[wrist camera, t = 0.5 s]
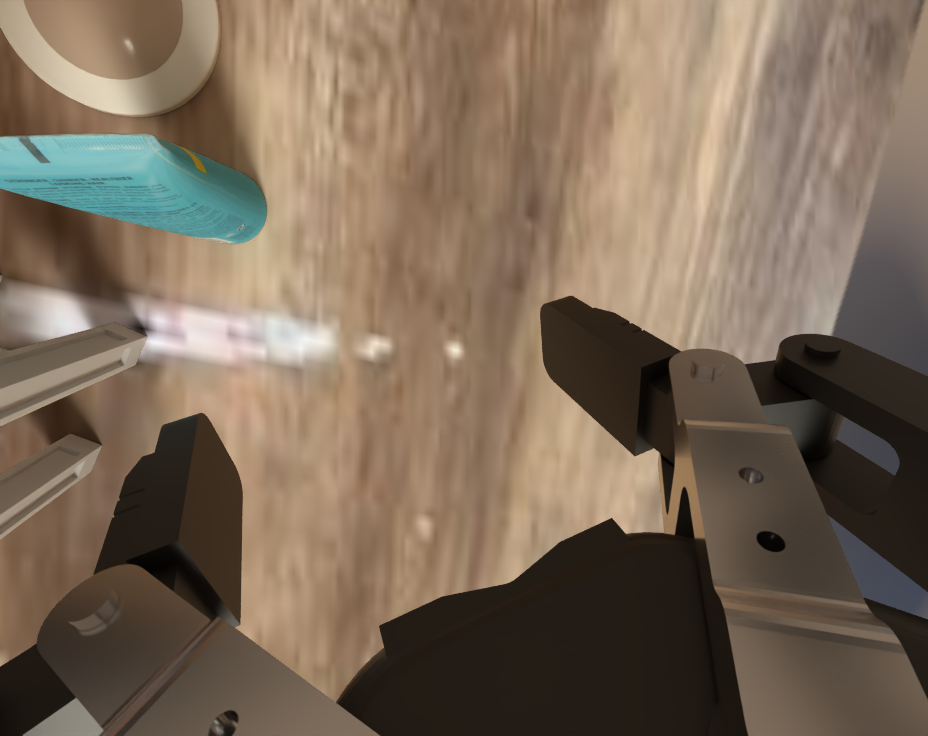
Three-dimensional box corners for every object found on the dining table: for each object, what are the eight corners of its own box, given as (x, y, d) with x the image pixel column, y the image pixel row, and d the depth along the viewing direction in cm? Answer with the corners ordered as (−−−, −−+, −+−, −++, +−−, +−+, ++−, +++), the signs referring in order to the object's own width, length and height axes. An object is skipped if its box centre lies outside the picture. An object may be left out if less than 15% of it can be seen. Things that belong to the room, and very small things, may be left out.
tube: (275, 162, 32) (124, 41, 14) (293, 235, 33) (177, 215, 15) (160, 178, 31) (-168, 71, 13) (183, 252, 32) (-85, 254, 14)
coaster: (107, -161, 27) (93, -182, 25) (263, 36, 30) (258, 27, 29) (-49, -22, 27) (-71, -35, 26) (123, 158, 30) (111, 154, 29)
